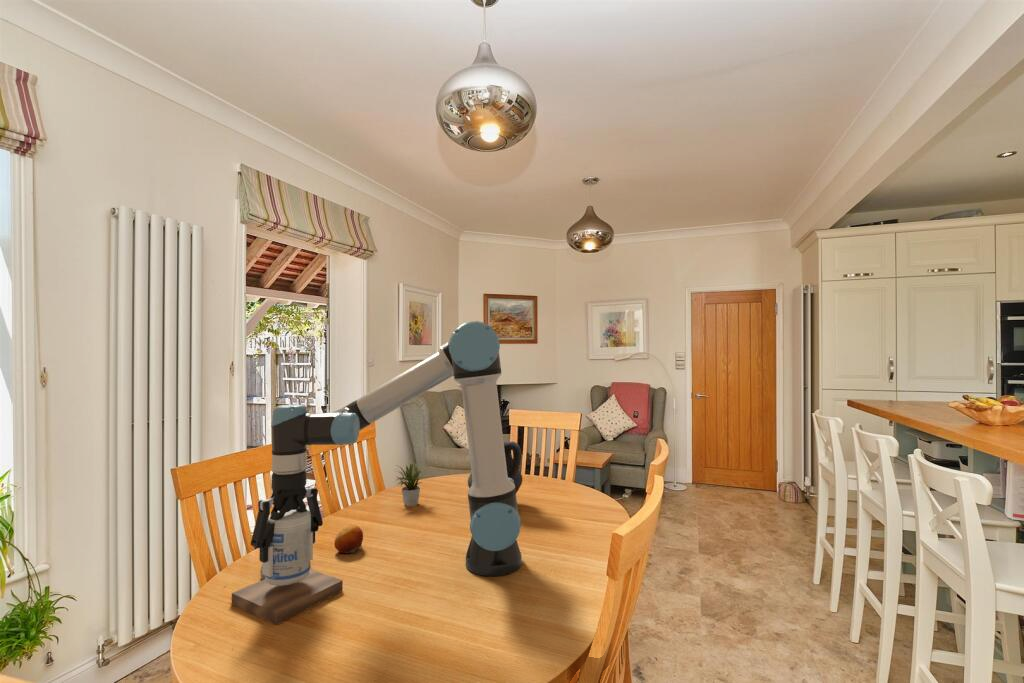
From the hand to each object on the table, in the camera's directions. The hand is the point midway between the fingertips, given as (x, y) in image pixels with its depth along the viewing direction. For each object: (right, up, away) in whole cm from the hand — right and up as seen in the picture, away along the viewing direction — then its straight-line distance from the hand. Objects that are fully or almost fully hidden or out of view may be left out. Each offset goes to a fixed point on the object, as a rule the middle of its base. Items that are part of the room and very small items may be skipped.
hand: (288, 566), depth 112 cm
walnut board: (0, -7, 0) cm, 7 cm away
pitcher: (+47, -9, +66) cm, 82 cm away
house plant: (+13, -10, +71) cm, 73 cm away
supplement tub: (0, -3, 0) cm, 3 cm away
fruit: (+5, -8, +27) cm, 29 cm away
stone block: (-8, -8, +15) cm, 19 cm away
